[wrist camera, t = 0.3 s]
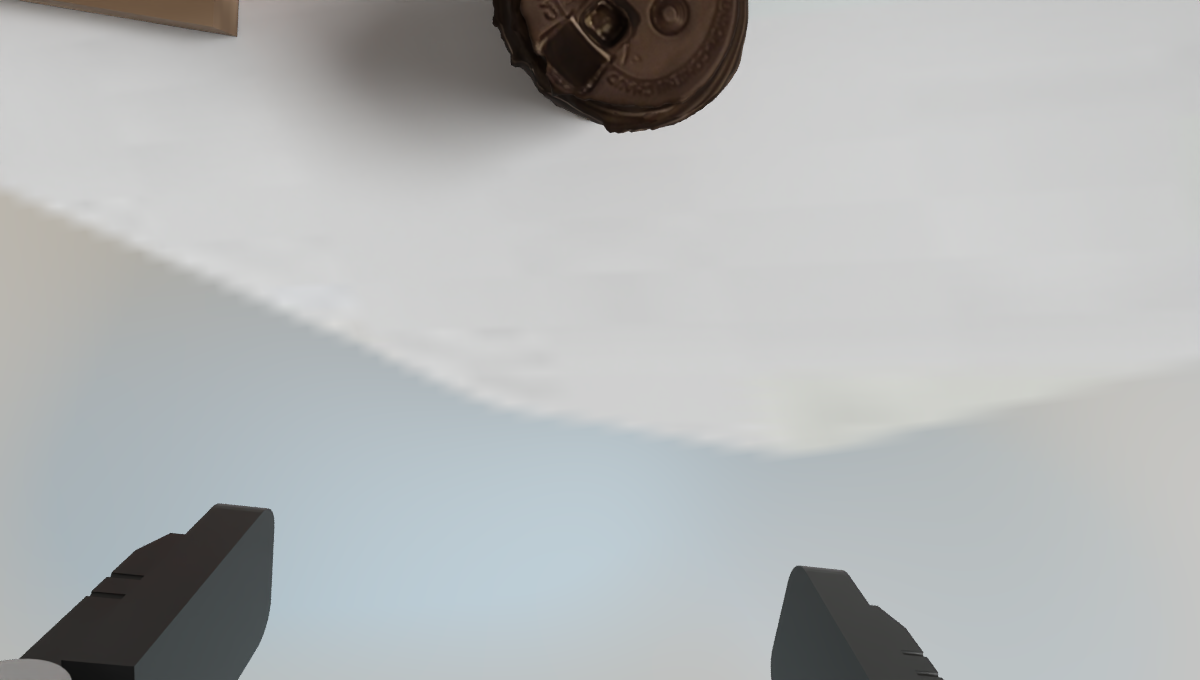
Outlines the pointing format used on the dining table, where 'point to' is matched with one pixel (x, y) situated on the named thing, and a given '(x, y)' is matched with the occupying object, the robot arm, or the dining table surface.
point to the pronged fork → (164, 12)
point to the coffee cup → (626, 55)
